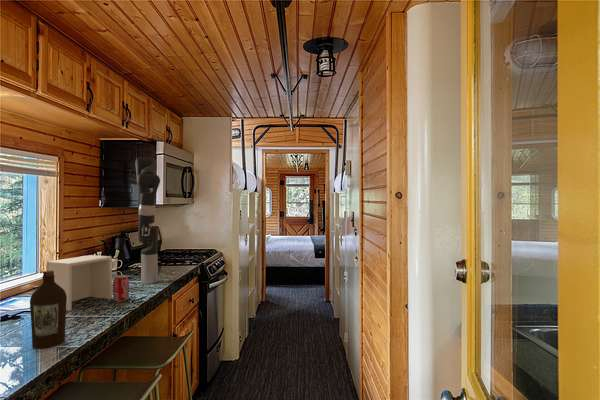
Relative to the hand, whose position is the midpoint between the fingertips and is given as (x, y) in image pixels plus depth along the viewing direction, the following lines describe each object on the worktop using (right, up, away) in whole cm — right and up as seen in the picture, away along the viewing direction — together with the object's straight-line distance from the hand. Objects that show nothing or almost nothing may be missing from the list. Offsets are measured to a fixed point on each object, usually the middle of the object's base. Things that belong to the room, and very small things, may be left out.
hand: (145, 244), depth 190 cm
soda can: (-10, -27, -6) cm, 29 cm away
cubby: (-28, -27, -9) cm, 40 cm away
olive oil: (-8, -27, -61) cm, 67 cm away
